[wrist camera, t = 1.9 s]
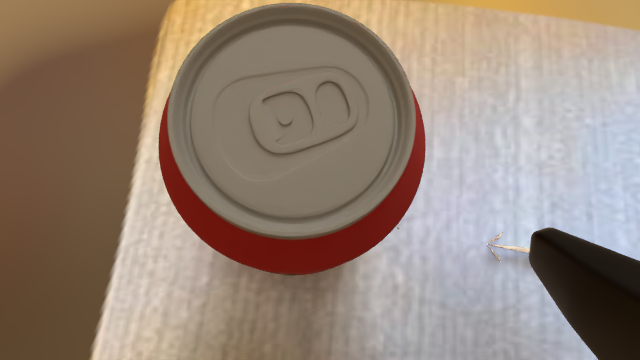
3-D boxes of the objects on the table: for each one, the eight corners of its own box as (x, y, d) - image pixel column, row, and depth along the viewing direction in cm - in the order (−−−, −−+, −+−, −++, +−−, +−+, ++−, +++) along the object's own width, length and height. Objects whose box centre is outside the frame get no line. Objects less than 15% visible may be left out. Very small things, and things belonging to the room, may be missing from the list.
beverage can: (207, 162, 21) (96, 21, 9) (337, 120, 22) (381, -58, 10) (250, 296, 20) (183, 325, 8) (386, 246, 21) (500, 207, 9)
